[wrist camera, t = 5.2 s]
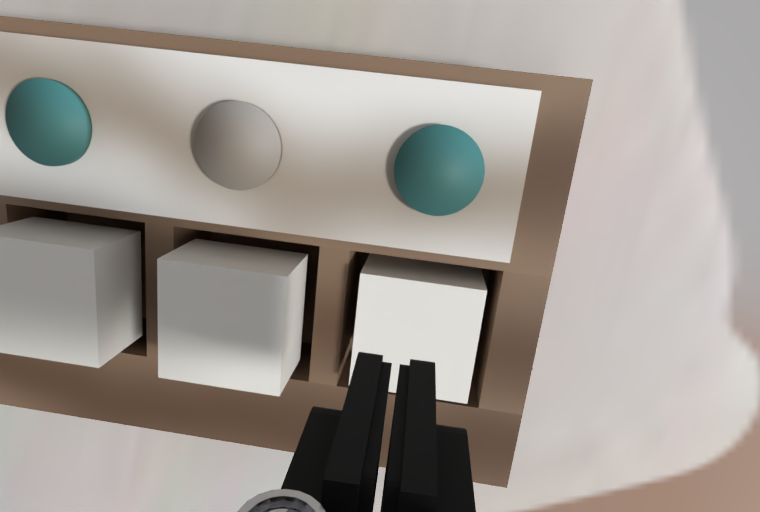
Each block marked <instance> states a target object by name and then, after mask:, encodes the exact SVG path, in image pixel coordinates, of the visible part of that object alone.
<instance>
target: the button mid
mask: <svg viewBox="0 0 760 512" xmlns="http://www.w3.org/2000/svg"><path fill="white" fill-rule="evenodd" d="M307 262H308V254H304V253H297V252H289V251H282V250H275V249H267V248H260V247H253V246H246V245H238V244H231V243H224V242H216V241H209V240H202V239H194V240H192V241H190V242H188V243H186V244H184V245H183V246H181V247H179V248H177V249H175V250H173V251H171V252H169V253H167V254H165V255H163V256H161V257H160V258H158V259H157V301H158V378H165V379H171V380H177V381H184V382H190V383H196V384H203V385H209V386H215V387H222V388H228V389H234V390H241V391H247V392H253V393H260V394H266V395H272V396H280V395H281V393H282V391H283V389H284V387H285V386H286V384H287V382H288V380H289V379H290V377H291V375H292V373H293V371H294V370H295V368H296V366H297V364H298V362H299V361H300V356H301V342H302V329H303V315H304V302H305V289H306V275H307Z"/></svg>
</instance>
